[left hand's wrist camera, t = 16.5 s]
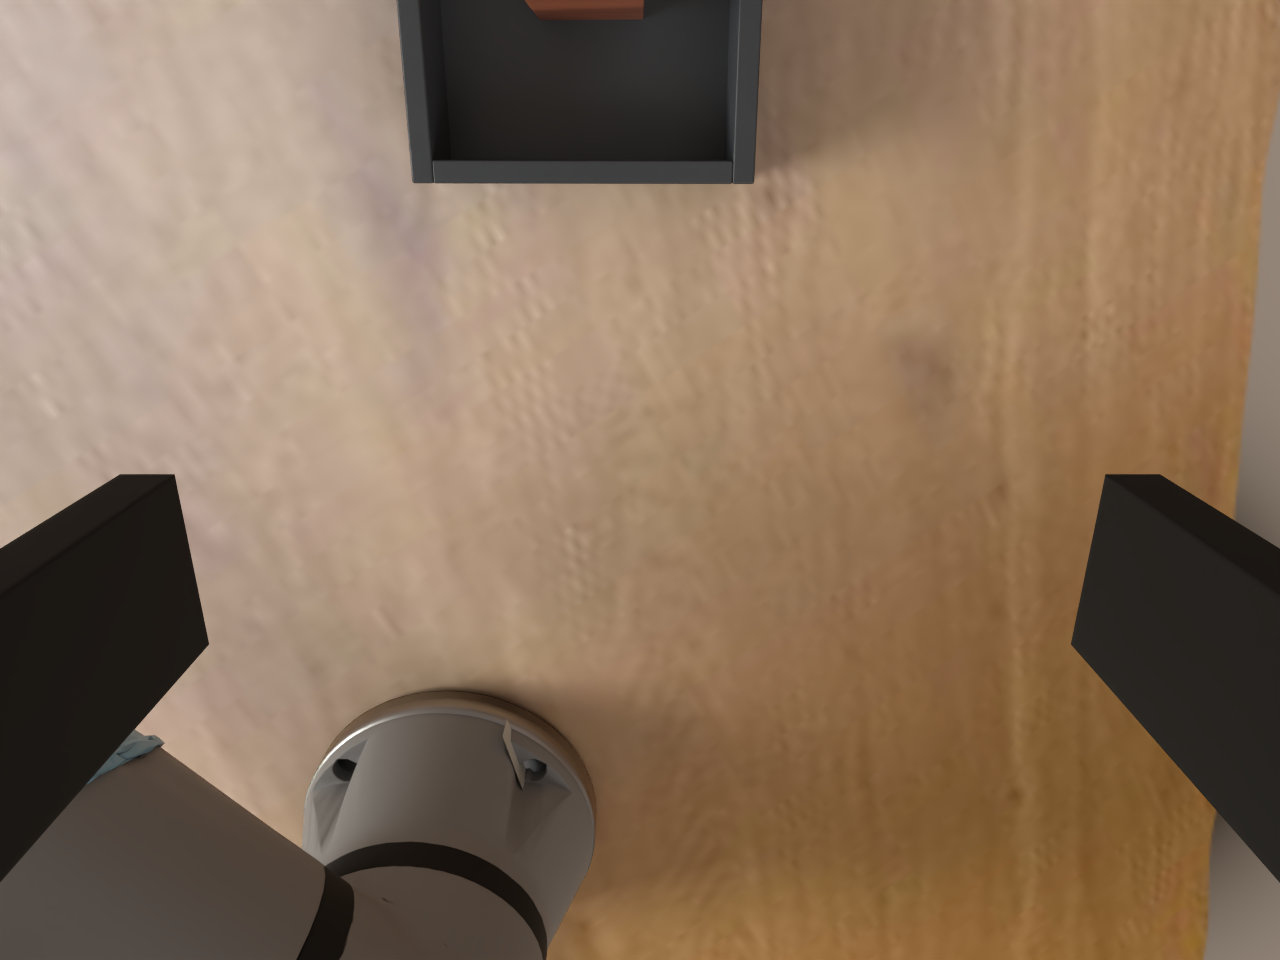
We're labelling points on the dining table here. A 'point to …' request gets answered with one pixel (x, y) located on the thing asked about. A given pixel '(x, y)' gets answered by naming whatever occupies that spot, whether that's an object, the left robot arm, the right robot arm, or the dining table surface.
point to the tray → (581, 93)
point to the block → (587, 9)
